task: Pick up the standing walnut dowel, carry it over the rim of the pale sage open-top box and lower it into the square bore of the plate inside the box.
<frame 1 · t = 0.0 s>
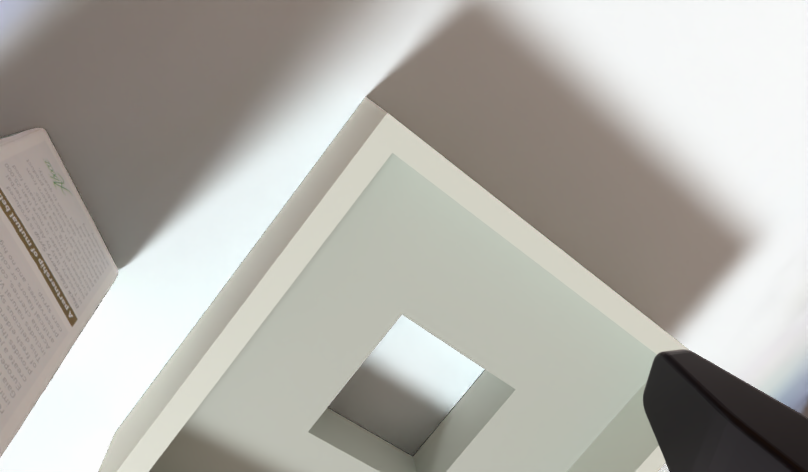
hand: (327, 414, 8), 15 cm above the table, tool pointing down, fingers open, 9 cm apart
bore box: (402, 376, 26), on the table
syrup box: (9, 228, 22), on the table
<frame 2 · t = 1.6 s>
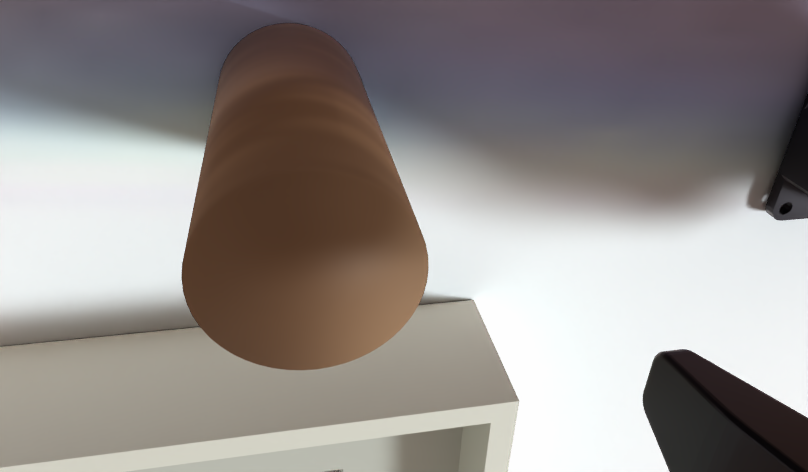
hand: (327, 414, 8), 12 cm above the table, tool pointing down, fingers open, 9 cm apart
peg: (291, 95, 18), on the table
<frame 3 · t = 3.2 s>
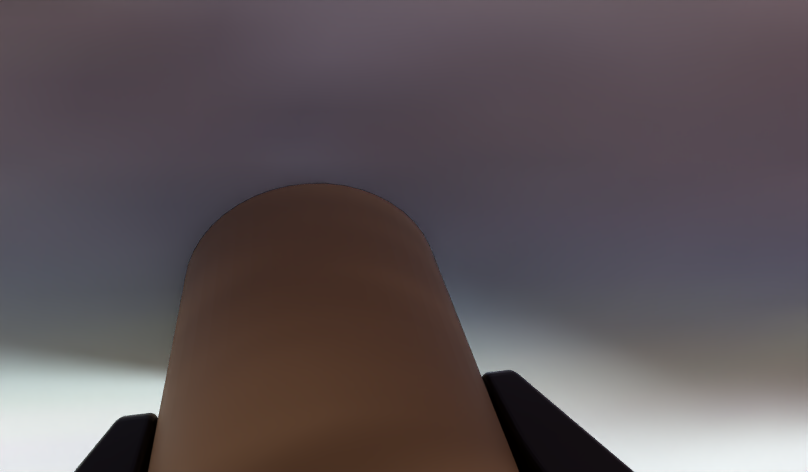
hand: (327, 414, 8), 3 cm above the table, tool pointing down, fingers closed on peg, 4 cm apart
peg: (315, 294, 10), on the table, touching gripper
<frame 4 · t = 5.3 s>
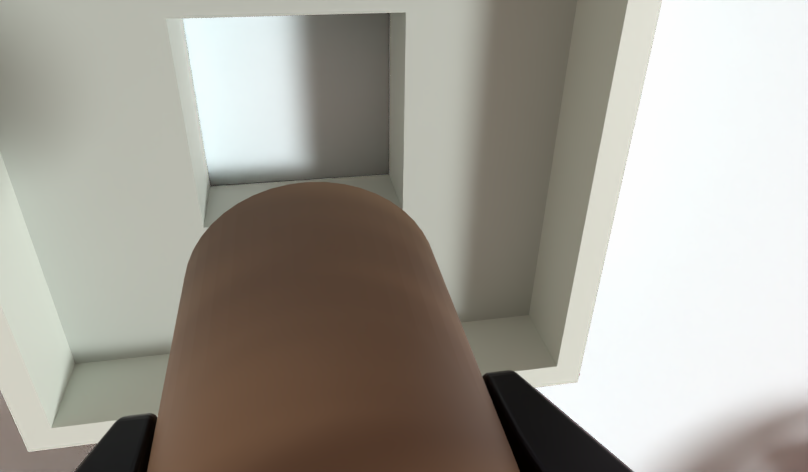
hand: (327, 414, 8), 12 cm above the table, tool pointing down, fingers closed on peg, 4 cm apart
bore box: (294, 94, 18), on the table
peg: (314, 293, 10), point 10 cm above the table, touching gripper
when the fingers open (4 cm above the table, at t = 7.5 s): peg drops 1 cm, resting in bore box.
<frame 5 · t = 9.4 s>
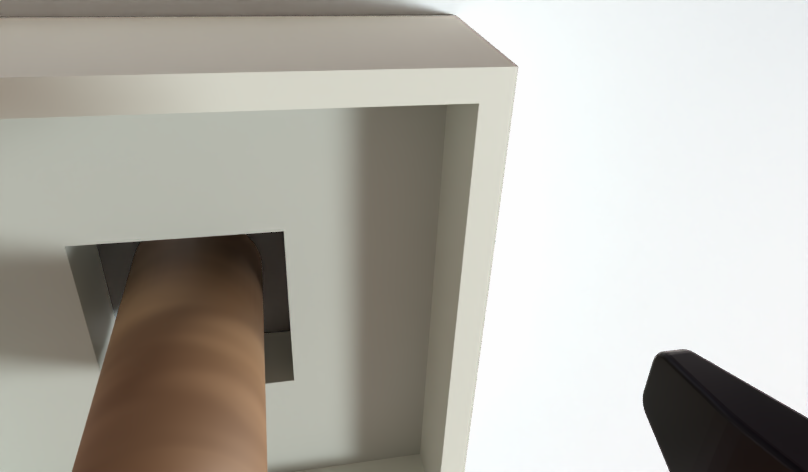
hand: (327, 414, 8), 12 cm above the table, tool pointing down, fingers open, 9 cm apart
bore box: (197, 272, 20), on the table
peg: (199, 270, 20), resting in bore box
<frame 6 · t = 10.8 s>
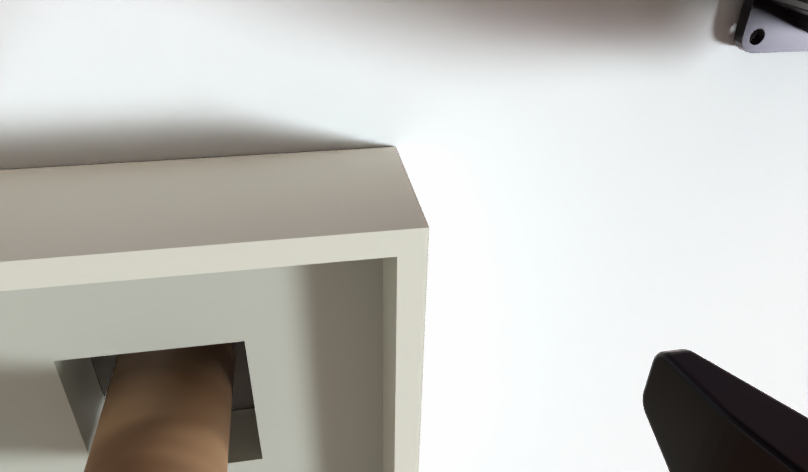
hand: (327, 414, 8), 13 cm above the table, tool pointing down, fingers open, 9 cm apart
bore box: (176, 362, 23), on the table
peg: (177, 360, 23), resting in bore box
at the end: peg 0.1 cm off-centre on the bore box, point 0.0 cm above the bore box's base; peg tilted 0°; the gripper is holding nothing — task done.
